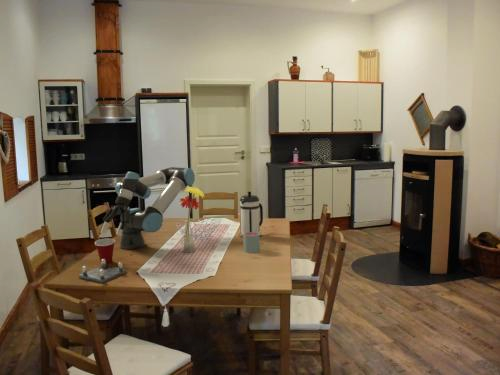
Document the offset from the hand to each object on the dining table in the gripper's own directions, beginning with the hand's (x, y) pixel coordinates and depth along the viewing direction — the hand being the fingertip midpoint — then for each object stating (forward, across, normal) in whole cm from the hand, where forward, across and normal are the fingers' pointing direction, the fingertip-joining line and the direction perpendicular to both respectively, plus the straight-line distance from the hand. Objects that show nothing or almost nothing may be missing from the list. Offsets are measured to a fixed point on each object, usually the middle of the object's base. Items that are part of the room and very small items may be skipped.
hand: (110, 234), depth 228 cm
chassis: (+22, +12, -3) cm, 25 cm away
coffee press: (-30, +32, +81) cm, 92 cm away
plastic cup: (+14, -4, +7) cm, 16 cm away
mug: (-16, +50, +62) cm, 81 cm away
